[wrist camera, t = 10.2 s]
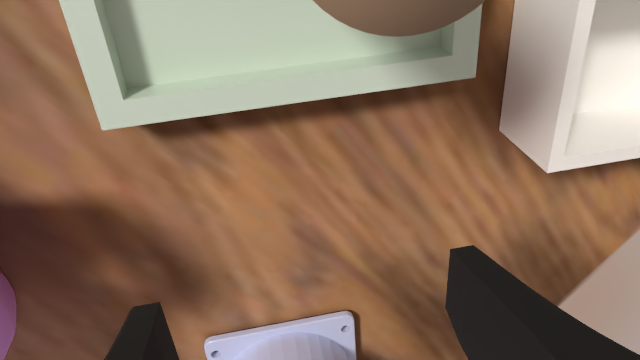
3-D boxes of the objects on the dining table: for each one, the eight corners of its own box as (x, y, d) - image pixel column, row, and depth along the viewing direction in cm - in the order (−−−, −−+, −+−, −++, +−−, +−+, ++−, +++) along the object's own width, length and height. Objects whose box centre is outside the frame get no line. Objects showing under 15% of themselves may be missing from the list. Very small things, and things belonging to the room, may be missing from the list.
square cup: (640, 108, 24) (709, 146, 21) (499, 130, 24) (547, 173, 20) (686, -57, 21) (779, -42, 17) (519, -37, 20) (583, -19, 16)
